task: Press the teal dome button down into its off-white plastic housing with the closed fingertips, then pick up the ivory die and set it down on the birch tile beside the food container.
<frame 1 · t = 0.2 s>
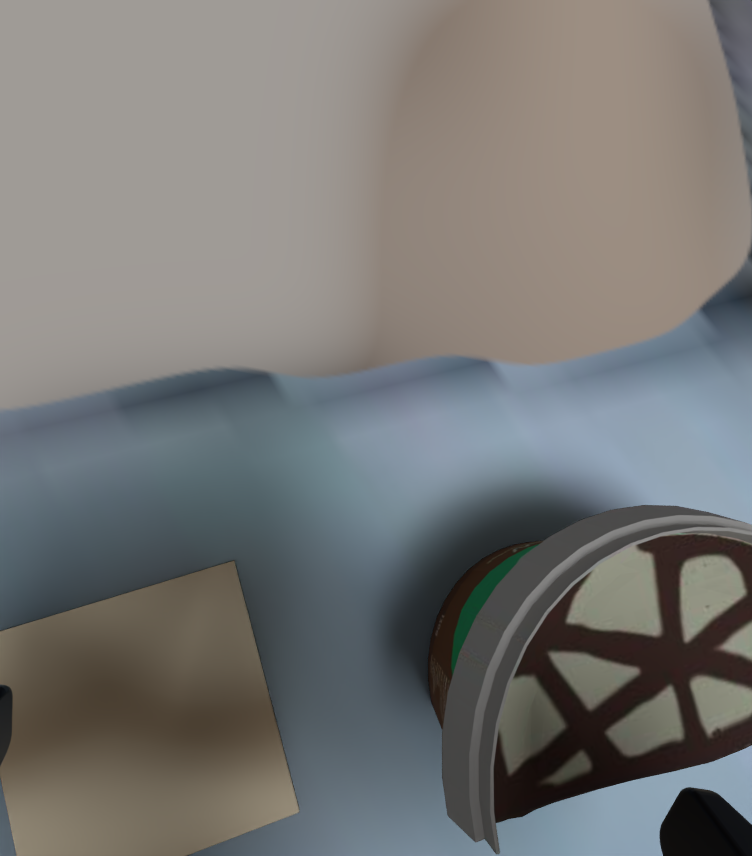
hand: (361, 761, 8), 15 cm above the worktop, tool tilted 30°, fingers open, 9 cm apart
food container: (525, 591, 24), on the worktop
birch tile: (140, 724, 21), on the worktop
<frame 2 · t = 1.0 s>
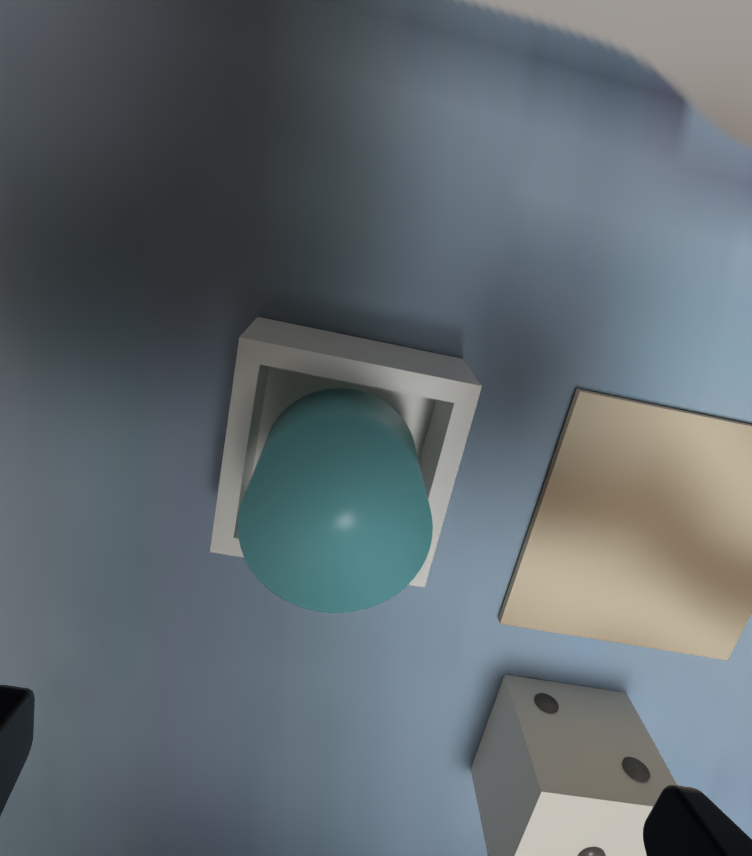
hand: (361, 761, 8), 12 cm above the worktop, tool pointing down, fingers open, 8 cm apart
dome base: (342, 434, 19), on the worktop
dome button: (338, 492, 15), point 4 cm above the worktop, slide at 0.0 cm
die: (546, 730, 24), on the worktop
birch tile: (656, 534, 21), on the worktop
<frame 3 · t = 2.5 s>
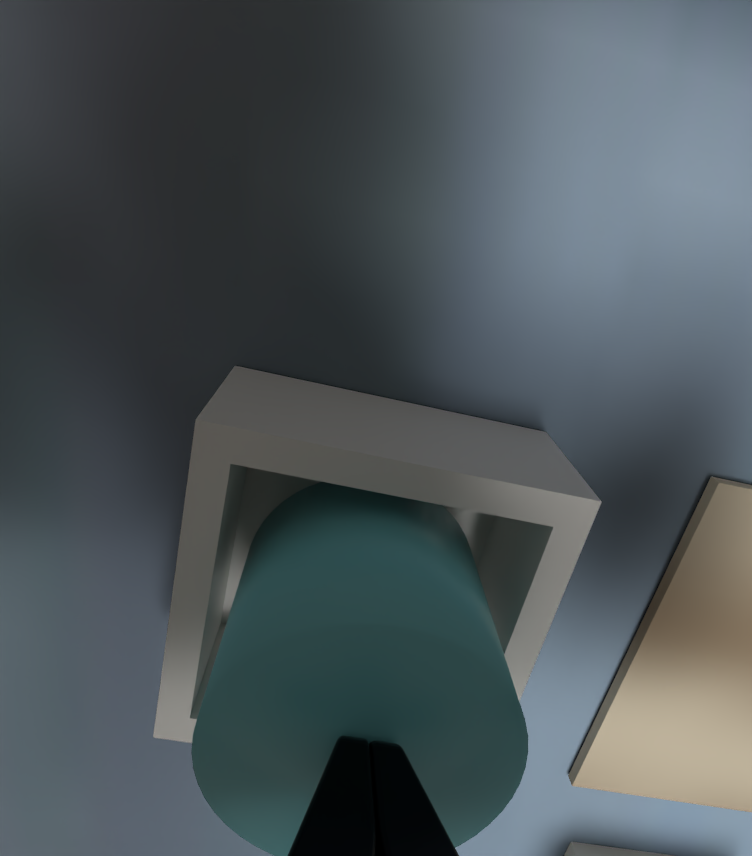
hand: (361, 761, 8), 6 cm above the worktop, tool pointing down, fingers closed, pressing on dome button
dome base: (360, 535, 13), on the worktop
dome button: (360, 651, 10), point 4 cm above the worktop, slide at 0.7 cm, touching gripper
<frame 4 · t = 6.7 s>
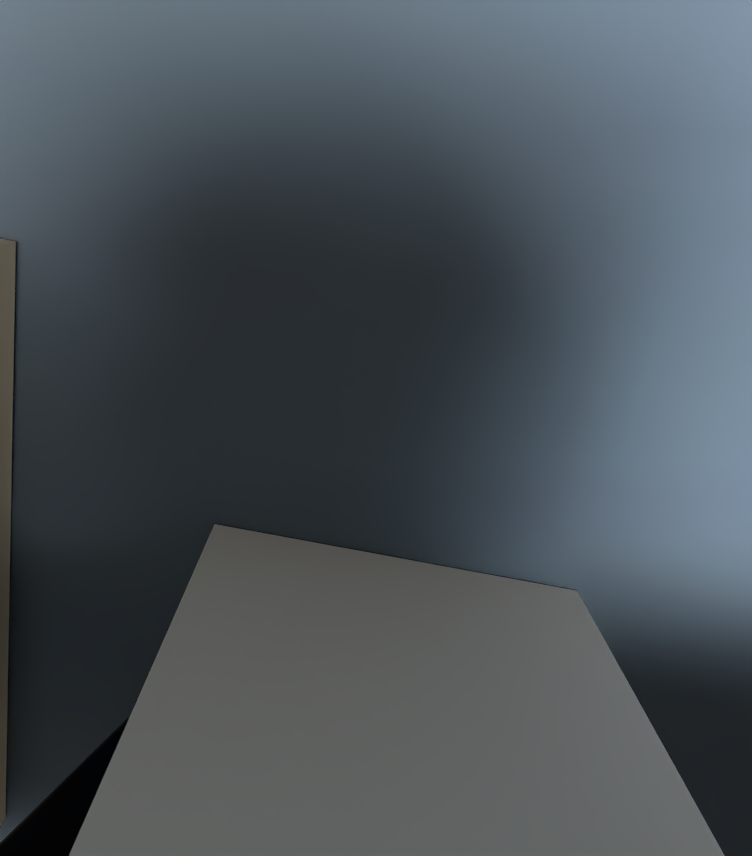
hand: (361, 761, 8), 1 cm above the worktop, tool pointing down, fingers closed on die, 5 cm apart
die: (361, 699, 9), on the worktop, touching gripper
when the fingers open (2 cm above the worktop, at t = 10.6 s): die drops 1 cm, resting on birch tile.
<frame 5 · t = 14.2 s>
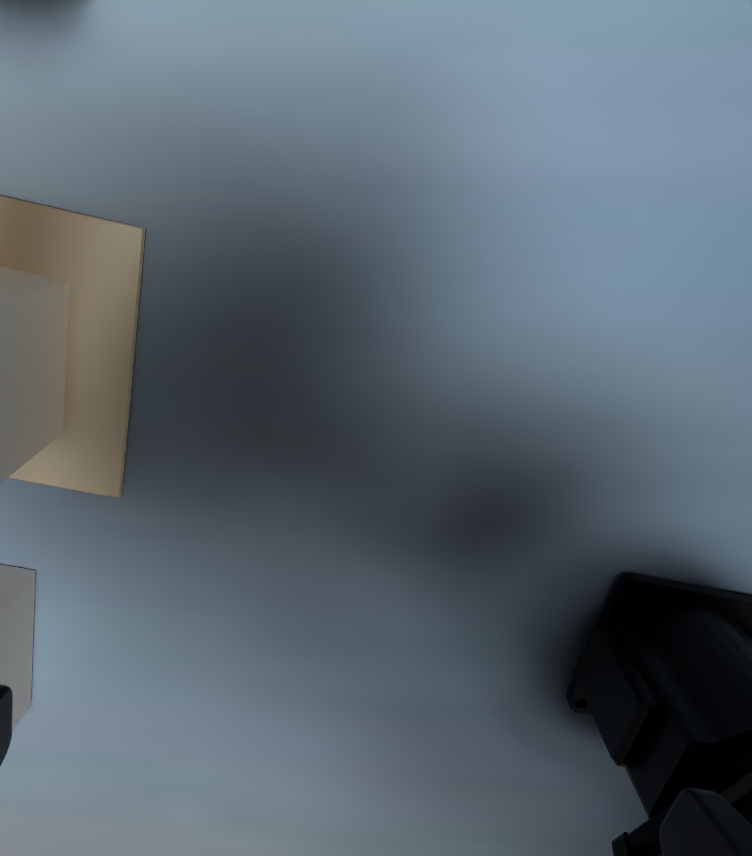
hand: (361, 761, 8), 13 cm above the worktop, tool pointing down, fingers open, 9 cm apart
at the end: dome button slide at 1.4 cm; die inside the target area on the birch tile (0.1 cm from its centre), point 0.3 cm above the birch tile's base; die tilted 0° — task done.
